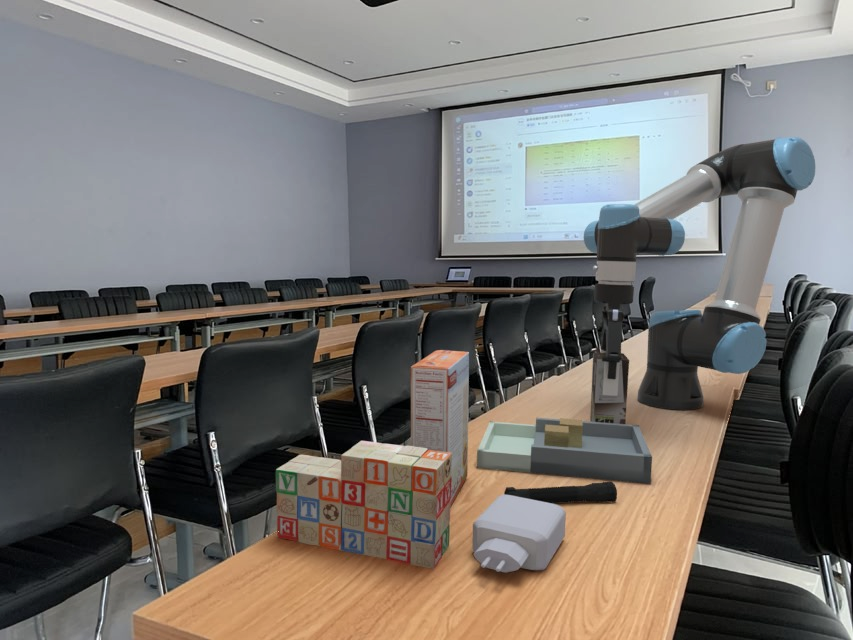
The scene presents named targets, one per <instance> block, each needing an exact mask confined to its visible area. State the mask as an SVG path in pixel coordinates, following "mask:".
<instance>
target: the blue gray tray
mask: <svg viewBox="0 0 853 640" xmlns="http://www.w3.org/2000/svg"><path fill="white" fill-rule="evenodd" d="M582 422H583V433H582V448H580V447H569V446H568V448H567V447H555V446H544V438H545V425H558V426H560V418H559V419H558V418H547V417H536V418H535V425H536V432H535V438H534V444H533V445H531V467H530V473H529V474H537V475H538V474H540V475H548V476H559V477H570V478H582V479H591V480H604V481H610V482H611V481H612V482H622V483H634V484H644V485H651V483H652V468H653V467H652V465H653V464H652V463H653V455H652V453H651V451H650V449H649V446H648V444H647V441H646V440H645V437H644V434H643V432H642V430H641V427H640V425H639V424H626V423H625V424H616V423H602V422H590V421H587V420H586V421H585V420H582Z"/></svg>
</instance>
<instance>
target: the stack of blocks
mask: <svg viewBox="0 0 853 640" xmlns="http://www.w3.org/2000/svg"><path fill="white" fill-rule="evenodd" d="M340 458H341V459H335V458H331V457H330V458H329V457H322V456H321V457H319V456H315V455H308V454H298V455H297V456H296V457H294V458H292V459H290V460H288V462H286V463H284V464H282V465H281V466H279V467H277V468H276V469H275V492H276V515H277V517H276V520H277V521H276V534H277V538H279V539H284V540H289V541H295V542H298V543H302V544H307V545H310V546H311V545H312V546H319V547H323V548H326V549H332V550H337V551H342V552H348V553H352V554H353V553H354V554H359V555H364V556H369V557H374V558H379V559H385V560H388V561H392V562H398V563H403V564H408V565H412V566H418V567H422V568H428V569H434V570H435V569H436V567H437V565H438V564H439V562H440V561H441V559H442V558H443V556H444V554H445V553H446V551H447V550H448V548H449V546H450V536H451V535H450V527H451V526H450V522H451V521H450V520H451V519H450V518H451V506H450V503H451V501H450V500H451V482H452V477H451V467H452V453H448V452H440V451H434V450H428V449H427V448H421V447H414V446H411V445H401V444H391V443H382V442H377V441H376V442H375V441H367V440H360V441H359V442H358V443H356V444H354V445H353V446H352V447H351V448H349V449H348V450H347V451H345V452H344V453H342V454H341V455H340ZM278 531H279V532H278Z"/></svg>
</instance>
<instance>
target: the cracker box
mask: <svg viewBox="0 0 853 640" xmlns="http://www.w3.org/2000/svg"><path fill="white" fill-rule="evenodd" d="M469 377H470V352H469V351H458V350H448V349H439V350H438V349H437V350H435V351H433V352H432V353H430V354H429V355H427V356H425V357H424V358H422V359H420V360H419V361H418V362H416V363H414V364H413V365H411V366H410V446H414V447H421V448H427V449H428V450H434V451H440V452H448V453H452V467H451V477H452V482H451V500H450V501H451V503H450V507H451V506H452V505H453V503H454V501H455V500H456V498H457V496H458V494H459V492H460V491H461V488H462V487H463V485H464V483H465V481H466V480H467V478H468V471H469V470H468V469H469V468H468V466H469V465H468V464H469V463H468V462H469V459H468V457H469V455H468V453H469V388H470V385H469V384H470V383H469V382H470V381H469V379H470V378H469Z"/></svg>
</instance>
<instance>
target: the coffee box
mask: <svg viewBox="0 0 853 640" xmlns="http://www.w3.org/2000/svg"><path fill="white" fill-rule="evenodd" d="M621 356H622V358H621V361H620V366H619V380H618V395H617V396H611V395H603V379H604V364H605V362H604V361H602V357H606V353H601V352H593V353H592V368H591V369H592V370H591V371H592V372H591V394H590V395H591V396H590V415H589V416H590V419H589V420H590V421H589V422H602V423H616V424H626V419H627V418H626V417H627V405H628V404H627V402H628V386H629V369H630V359H629V358H628V357H627V356H626V354H625V353H624V352H621Z"/></svg>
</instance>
